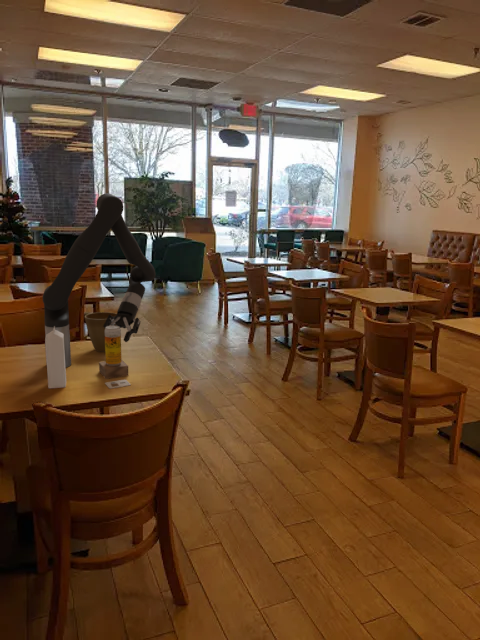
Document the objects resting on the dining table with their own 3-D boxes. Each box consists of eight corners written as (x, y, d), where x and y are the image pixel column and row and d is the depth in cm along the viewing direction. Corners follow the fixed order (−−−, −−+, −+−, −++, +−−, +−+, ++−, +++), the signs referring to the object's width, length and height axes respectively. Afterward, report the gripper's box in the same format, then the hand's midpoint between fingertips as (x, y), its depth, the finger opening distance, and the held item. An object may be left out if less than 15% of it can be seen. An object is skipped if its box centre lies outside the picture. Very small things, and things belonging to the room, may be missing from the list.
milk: (48, 388, 183) (44, 330, 178) (49, 382, 189) (45, 325, 183) (66, 387, 185) (62, 329, 180) (66, 381, 191) (63, 325, 185)
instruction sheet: (109, 388, 185) (109, 387, 185) (105, 383, 190) (105, 382, 190) (130, 385, 189) (130, 384, 189) (125, 380, 194) (125, 379, 194)
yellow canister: (107, 367, 196) (106, 329, 192) (104, 362, 201) (102, 326, 197) (123, 365, 198) (122, 328, 195) (119, 360, 204) (118, 324, 200)
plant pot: (126, 349, 231) (125, 315, 227) (98, 356, 220) (97, 321, 216) (107, 342, 241) (106, 310, 237) (79, 349, 230) (78, 314, 226)
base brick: (105, 378, 194) (105, 369, 193) (99, 371, 202) (99, 362, 201) (128, 375, 199) (128, 365, 198) (121, 368, 206) (121, 359, 205)
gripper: (110, 299, 206) (95, 333, 198) (141, 302, 201) (127, 337, 194) (118, 309, 212) (104, 342, 204) (148, 312, 208) (135, 346, 200)
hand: (115, 339), depth 199 cm, fingers open, 8 cm apart
